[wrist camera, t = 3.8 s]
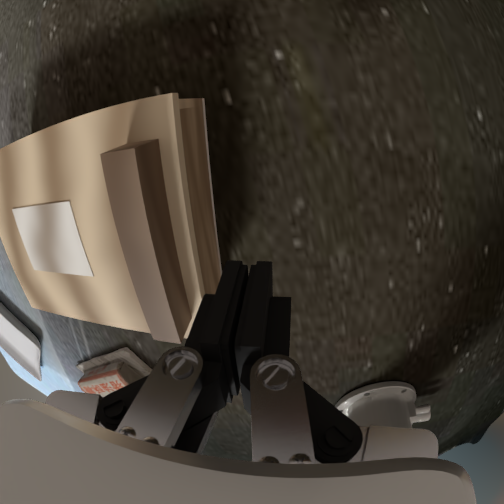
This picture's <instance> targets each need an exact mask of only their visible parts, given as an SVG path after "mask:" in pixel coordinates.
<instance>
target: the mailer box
mask: <svg viewBox="0 0 504 504" xmlns="http://www.w3.org/2000/svg"><path fill="white" fill-rule="evenodd" d="M179 109H180V120H181V130H182V140H183V149H184V158H185V166H186V174H187V182H188V190H189V197H190V205H191V212H192V218H193V225H194V232H195V238H196V244H197V250H198V256H199V262H200V268H201V274H202V279H203V285H204V290H205V294H215V292H216V290H217V287H218V284H219V281H220V278H221V275H222V268H221V260H220V252H219V244H218V236H217V227H216V218H215V209H214V200H213V191H212V181H211V171H210V160H209V149H208V138H207V126H206V114H205V101H204V98H192V99H179Z"/></svg>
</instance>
